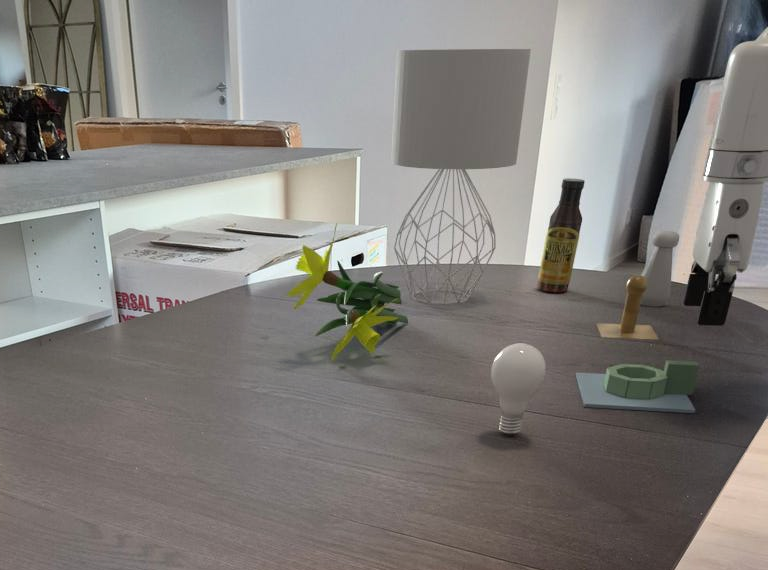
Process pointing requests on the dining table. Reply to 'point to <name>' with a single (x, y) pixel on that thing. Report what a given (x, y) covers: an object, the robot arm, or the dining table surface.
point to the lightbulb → (516, 382)
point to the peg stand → (630, 314)
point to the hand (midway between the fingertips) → (702, 314)
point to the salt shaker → (660, 270)
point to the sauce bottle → (562, 239)
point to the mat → (599, 398)
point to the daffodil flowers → (349, 299)
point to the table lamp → (456, 129)
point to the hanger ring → (651, 379)
